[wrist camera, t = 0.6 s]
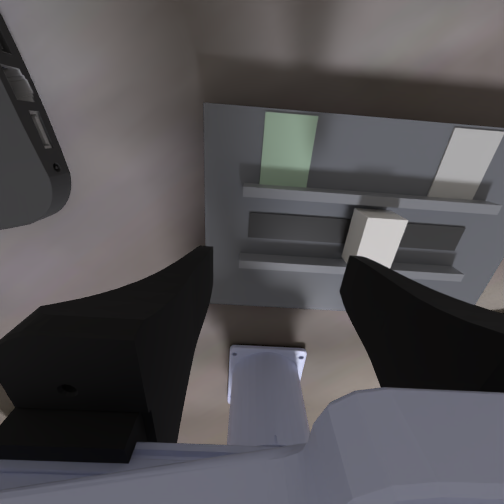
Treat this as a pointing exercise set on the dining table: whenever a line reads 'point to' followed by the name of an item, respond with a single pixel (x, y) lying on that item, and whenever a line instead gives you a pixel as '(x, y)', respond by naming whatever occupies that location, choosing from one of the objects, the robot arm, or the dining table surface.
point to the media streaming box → (26, 146)
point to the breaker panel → (346, 201)
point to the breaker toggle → (374, 235)
